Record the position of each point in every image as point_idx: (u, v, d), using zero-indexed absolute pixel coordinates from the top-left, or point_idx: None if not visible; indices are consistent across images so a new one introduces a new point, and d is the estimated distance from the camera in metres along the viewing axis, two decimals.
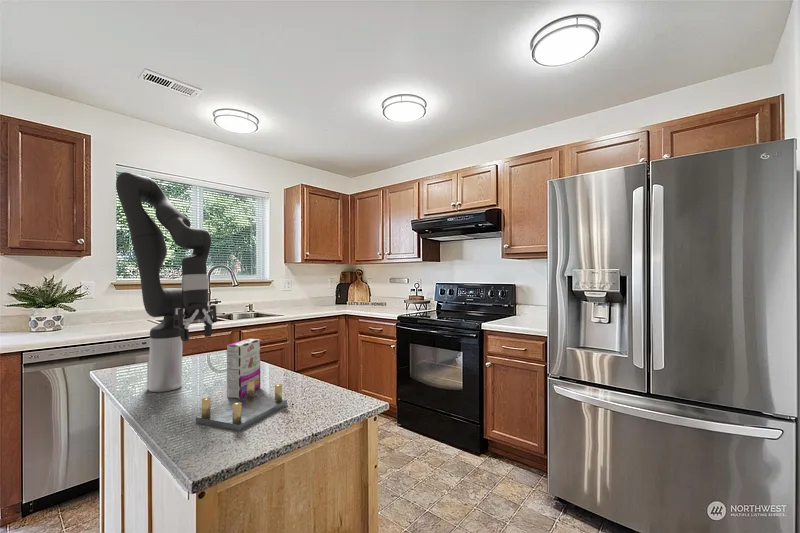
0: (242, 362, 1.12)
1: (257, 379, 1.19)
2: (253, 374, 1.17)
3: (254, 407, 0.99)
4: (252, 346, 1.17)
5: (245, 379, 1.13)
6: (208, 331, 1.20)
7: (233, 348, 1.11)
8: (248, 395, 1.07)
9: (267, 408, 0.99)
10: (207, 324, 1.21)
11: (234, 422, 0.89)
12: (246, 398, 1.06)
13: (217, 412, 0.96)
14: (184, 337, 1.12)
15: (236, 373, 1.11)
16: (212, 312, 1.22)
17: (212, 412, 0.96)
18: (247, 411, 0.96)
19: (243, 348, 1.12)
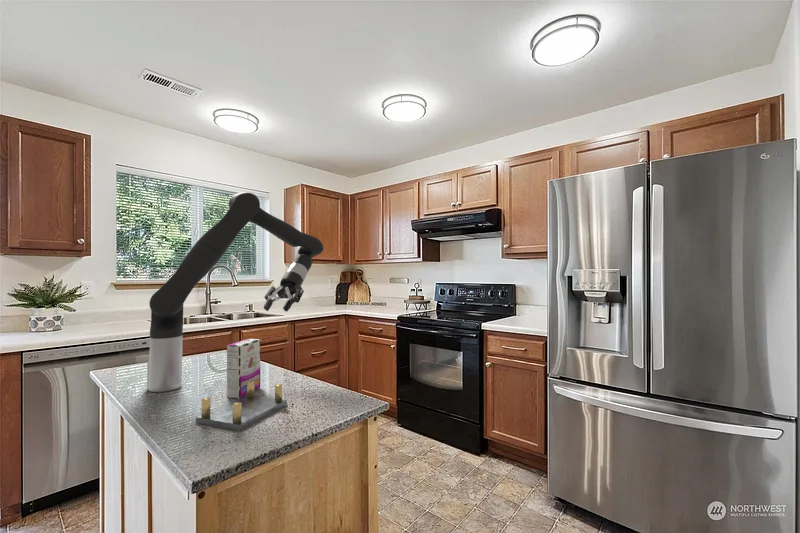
0: (242, 362, 1.12)
1: (257, 379, 1.19)
2: (253, 374, 1.17)
3: (254, 407, 0.99)
4: (252, 346, 1.17)
5: (245, 379, 1.13)
6: (269, 306, 1.33)
7: (233, 348, 1.11)
8: (248, 395, 1.07)
9: (267, 408, 0.99)
10: (271, 301, 1.35)
11: (234, 422, 0.89)
12: (246, 398, 1.06)
13: (217, 412, 0.96)
14: None
15: (236, 373, 1.11)
16: None
17: (212, 412, 0.96)
18: (247, 411, 0.96)
19: (243, 348, 1.12)
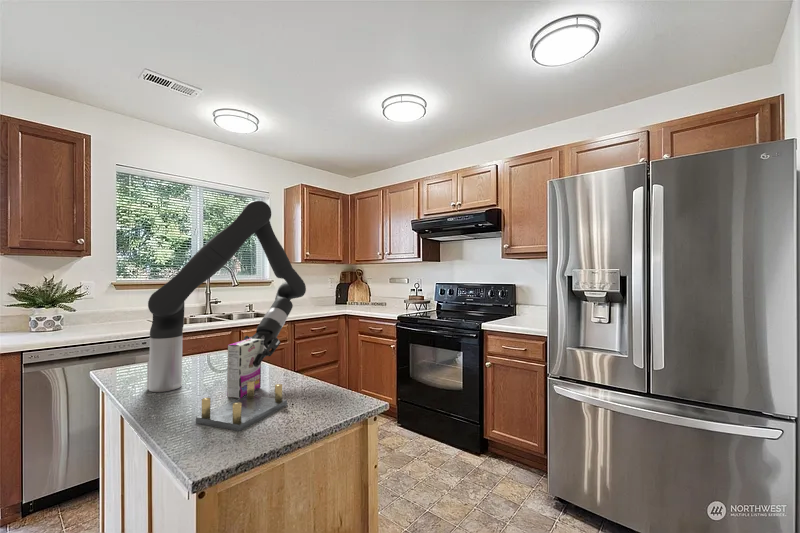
0: (243, 362, 1.12)
1: (257, 379, 1.19)
2: (254, 374, 1.17)
3: (254, 407, 0.99)
4: (253, 346, 1.17)
5: (245, 379, 1.13)
6: None
7: (234, 348, 1.11)
8: (248, 395, 1.07)
9: (267, 408, 0.99)
10: None
11: (234, 422, 0.89)
12: (246, 398, 1.06)
13: (217, 412, 0.96)
14: None
15: (237, 373, 1.11)
16: None
17: (212, 412, 0.96)
18: (247, 411, 0.96)
19: (244, 348, 1.12)
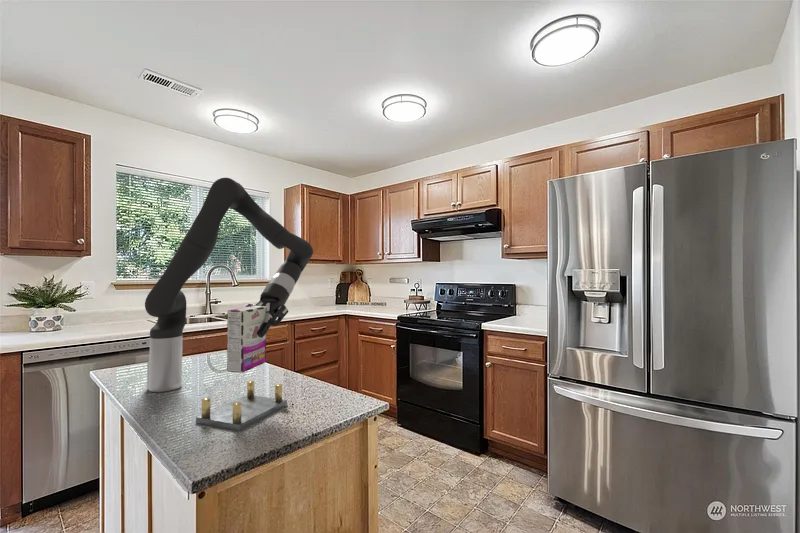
0: (245, 330, 0.95)
1: (262, 352, 1.03)
2: (258, 345, 1.01)
3: (254, 407, 0.99)
4: (258, 313, 1.00)
5: (248, 351, 0.96)
6: None
7: (235, 314, 0.94)
8: (248, 395, 1.07)
9: (267, 408, 0.99)
10: None
11: (234, 422, 0.89)
12: (246, 398, 1.06)
13: (217, 412, 0.96)
14: None
15: (238, 343, 0.94)
16: None
17: (212, 412, 0.96)
18: (247, 411, 0.96)
19: (246, 314, 0.95)
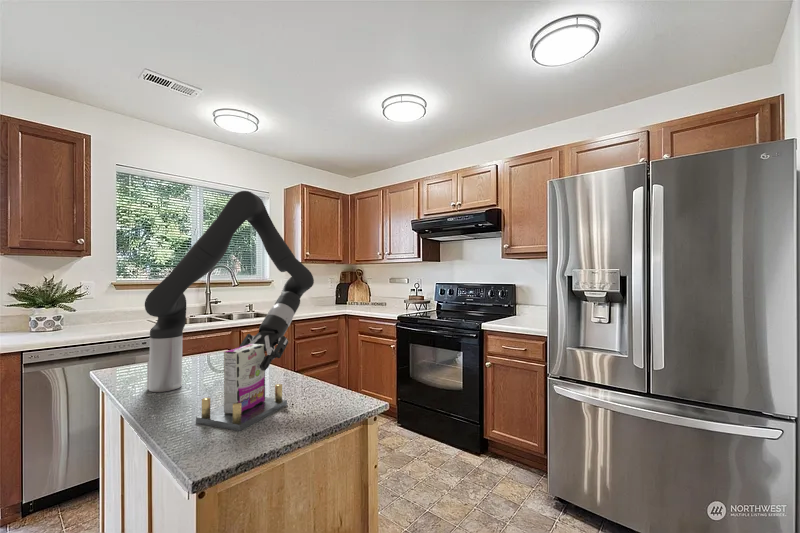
0: (241, 372, 0.95)
1: (261, 391, 1.02)
2: (256, 385, 1.00)
3: (254, 407, 0.99)
4: (255, 352, 1.00)
5: (245, 392, 0.96)
6: None
7: (231, 356, 0.94)
8: None
9: (267, 408, 0.99)
10: None
11: (234, 422, 0.89)
12: None
13: (217, 412, 0.96)
14: None
15: (234, 385, 0.94)
16: (249, 344, 1.09)
17: (212, 412, 0.96)
18: (247, 411, 0.96)
19: (242, 356, 0.95)
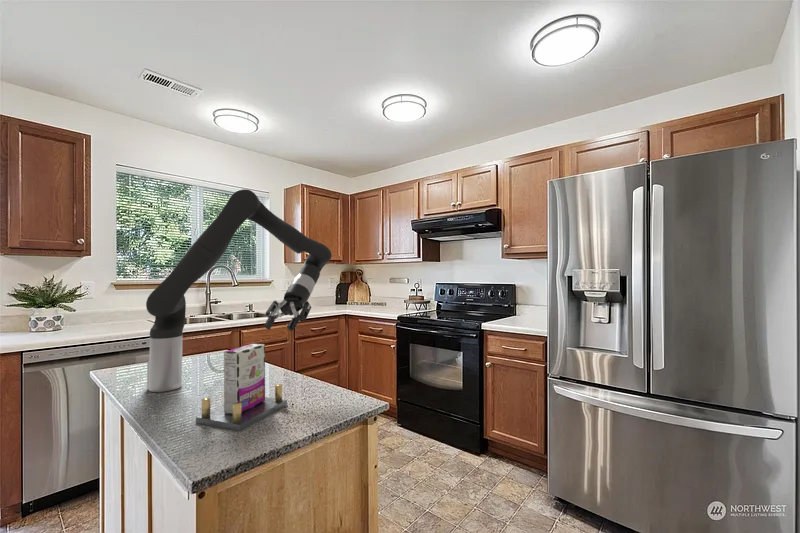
0: (241, 372, 0.95)
1: (261, 391, 1.02)
2: (256, 385, 1.00)
3: (254, 407, 0.99)
4: (255, 352, 1.00)
5: (245, 392, 0.96)
6: (271, 324, 1.15)
7: (231, 356, 0.94)
8: None
9: (267, 408, 0.99)
10: (273, 318, 1.17)
11: (234, 422, 0.89)
12: None
13: (217, 412, 0.96)
14: None
15: (234, 385, 0.94)
16: None
17: (212, 412, 0.96)
18: (247, 411, 0.96)
19: (242, 356, 0.95)
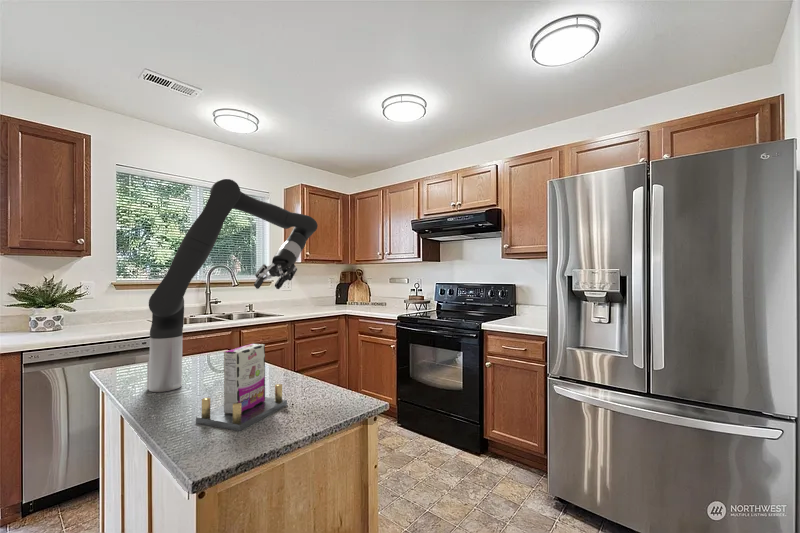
0: (241, 372, 0.95)
1: (261, 391, 1.02)
2: (256, 385, 1.00)
3: (254, 407, 0.99)
4: (255, 352, 1.00)
5: (245, 392, 0.96)
6: (260, 284, 1.26)
7: (231, 356, 0.94)
8: None
9: (267, 408, 0.99)
10: (262, 279, 1.28)
11: (234, 422, 0.89)
12: None
13: (217, 412, 0.96)
14: None
15: (234, 385, 0.94)
16: None
17: (212, 412, 0.96)
18: (247, 411, 0.96)
19: (242, 356, 0.95)
